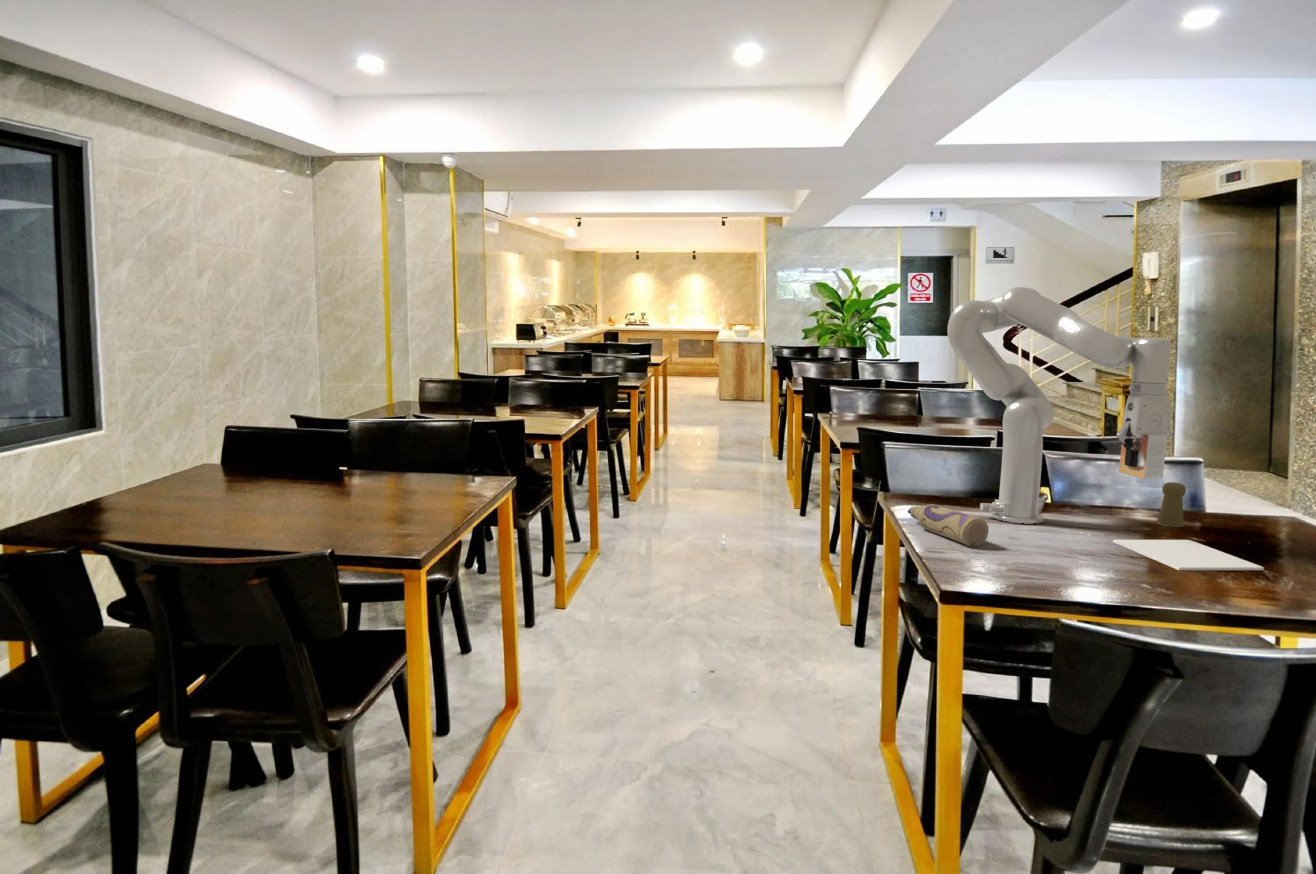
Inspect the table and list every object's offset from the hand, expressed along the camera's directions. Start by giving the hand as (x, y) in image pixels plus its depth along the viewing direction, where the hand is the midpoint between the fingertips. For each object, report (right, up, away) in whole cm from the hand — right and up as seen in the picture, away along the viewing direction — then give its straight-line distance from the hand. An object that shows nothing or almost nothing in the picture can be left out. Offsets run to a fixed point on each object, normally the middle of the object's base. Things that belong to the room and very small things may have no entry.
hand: (1141, 465), depth 211 cm
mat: (+2, -20, -14) cm, 24 cm away
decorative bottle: (-46, -17, +1) cm, 49 cm away
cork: (+16, -16, +16) cm, 28 cm away
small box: (0, -3, 0) cm, 3 cm away
